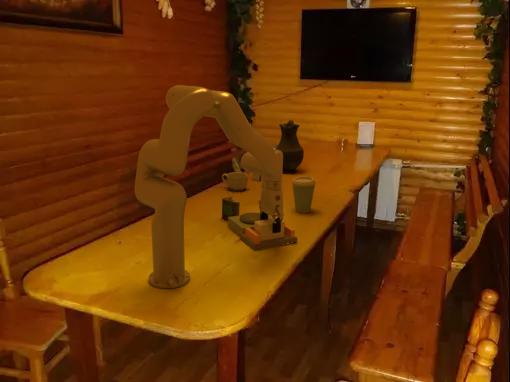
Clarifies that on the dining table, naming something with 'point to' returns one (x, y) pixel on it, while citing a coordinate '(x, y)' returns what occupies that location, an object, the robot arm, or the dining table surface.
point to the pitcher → (290, 147)
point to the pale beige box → (267, 229)
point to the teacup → (236, 180)
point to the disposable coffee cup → (303, 193)
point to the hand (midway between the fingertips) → (270, 228)
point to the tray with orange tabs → (246, 232)
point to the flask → (229, 207)
